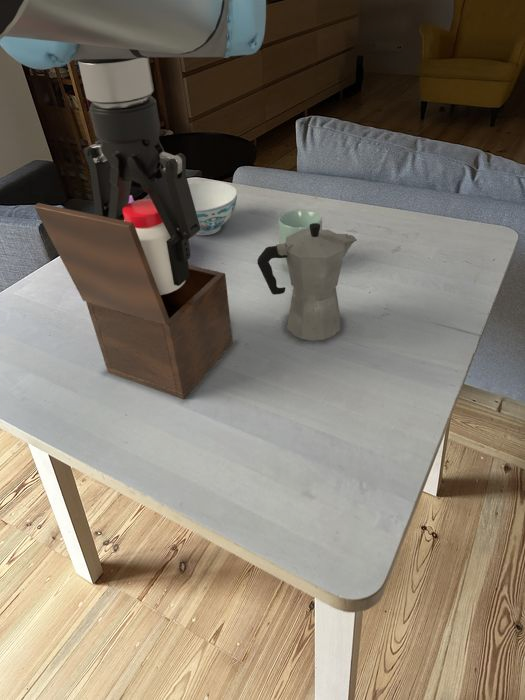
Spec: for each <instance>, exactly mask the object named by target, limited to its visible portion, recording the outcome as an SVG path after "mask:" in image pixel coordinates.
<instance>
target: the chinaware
mask: <svg viewBox="0 0 525 700" xmlns="http://www.w3.org/2000/svg"><path fill="white" fill-rule="evenodd" d="M188 184H189V188H190V191H191V195H192V199H193V202H194V206H195V210H196V214H197V217H198V221H199V225H200V231H199V232H197V233H196V234H195V235H197V236H209V235H214V234H216V233H218V232H219V231H220V230H221V229H222V226H223V225H224V224H225V223H227V221H228V220H229V219H230V218H231V216H232V215H233V213H234V210H235V208H236V205H237V199H238V190H237V189H236V188H235V187H234V186H233V185H232V184H230V183H226V182H222V181H215V180H204V181H203V180H201V181H195V182H190V183H189V182H188Z"/></svg>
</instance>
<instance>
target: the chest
mask: <svg viewBox="0 0 525 700" xmlns="http://www.w3.org/2000/svg"><path fill="white" fill-rule="evenodd" d="M188 267H189V273H190V277H188V278H187V279H186V281H185V283H184V284H183V285H182V286H181V287H180V288H179V289H177V290H175V291H173V292H171V293H168V294H164V295H161V298H162V301H163V304H164V306H165V309H166V312H167V314H168V317H169V320H170V322H169V323H168V324H167V325H164V324H161V323H157V322H154V321H151V320H147V319H144V318H140V317H137V316H134V315H130V314H127V313H123V312H120V311H117V310H113V309H110V308H106V307H103V306H99V305H96V304H93V303H89V302H86V301H85V303H86V307H87V309H88V314H89V316H90V320H91V322H92V323H91V324H92V326H93V329H94V332H95V336H96V338H97V342H98V345H99V348H100V351H101V354H102V359H103V361H104V364H105V367H106V370H107V373H108V374H111V375H113V376H116V377H119V378H122V379H126V380H128V381H131V382H133V383H136V384H140V385H143V386H145V387H148V388H151V389H154V390H156V391H158V392H159V391H160V392H162V393H165V394H168V395H170V396H173V397H177V398H179V399H182V400H185V399H186V398H187V397H188V395H190V393H191V392H192V391H193V390H194V389H195V388H196V386H198V384H199V383H200V382H201V381H202V379H203V378H204V377H205V376H206V375H207V374H208V373H209V371H210V370H211V369H212V368H213V367H214V366H215V365H216V364H217V363H218V361H219V360H220V359H221V358H222V357H223V356H224V354H225V353H226V352H227V351H228V350H229V349H230V347H231V346H232V345H233V344H234V342H233V341H234V340H233V334H232V333H233V331H232V323H231V315H230V305H229V304H230V303H229V295H228V286H227V277H226V273H225V272H221V271H219V270H218V271H217V270H213V269H209V268H204V267H200V266H197V265H192V264H188Z"/></svg>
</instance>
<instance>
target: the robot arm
mask: <svg viewBox="0 0 525 700" xmlns="http://www.w3.org/2000/svg"><path fill="white" fill-rule="evenodd" d="M266 21H267V0H0V47H1V48H2V49H3V51H5V53H6V54H8V55H9V56H10V57H11V58H12V59H13V60H14V61H16V62H17V63H19V64H21V65H23V66H25V67H28V68H29V69H34V70H42V71H43V70H49V69H54V68H63V67H65V66H66V65H67V64H69V63H71V62H72V61H77V64H78V67H79V72H80V76H81V81H82V85H83V90H84V94H85V98H86V99H87V100H88V101H89V102H91V103H90V104H89V105H90V106H89V107H88V110H89V114H90V118H91V122H92V126H93V129H94V134H95V137H96V139H98V140H100V141H101V142H100V141H97V142H96V143H93V144H90V145H89V146H87V147H85V148H84V149H83V155H84V158H85V160H86V162H87V165H88V168H89V175H90V182H91V189H92V198H93V205H94V211H95V215H98V216H103V217H108V218H113V219H118V220H122V221H124V220H125V219H124V215H123V208H124V207H125V206H126V205H127V204H128V203H129V196H130V194H131V188H132V182H135V183H137V184H139V185H140V187H141V189H142V191H143V192H144V193H147V194H148V196H149V199H151V200H152V202H153V204H154V206H155V208H156V210H157V212H158V213H159V215H160V217H161V219H162V221H163V223H164V225H165V227H166V229H167V231H168V233H169V235H170V237H171V238H170V239H169V240H167V241H166V242H167V248H168V253H169V259H170V264H171V270H172V275H173V281H174V285H177V286H179V285H180V284H182V283H183V282H184V281H185V280H186V279H187V278H188V277H190V273H189V267H188V265H189V261H188V260H189V259H190V258H191V255H192V254H191V249H190V241H189V240H190V239H191V238H193V237H194V236H196V235H197V234H196V233H197V232H199V231H200V225H199V221H198V217H197V214H196V210H195V206H194V202H193V199H192V195H191V191H190V188H189V181H188V178H187V170H186V169H187V158H186V156H185V155H184V154H183V153H181V152H180V153H177V154H176V155H174V154H171V153H169V152H166V151H165V149H164V147H163V145H162V143H161V141H160V131H161V122H160V116H159V110H158V105H157V100H156V98H154V96H152V94H153V93H154V91H155V88H154V82H153V75H152V70H151V64H150V58H222V59H227V58H230V57H237V56H238V57H239V56H250V55H253V54H255V53H257V52H258V51H259V50H260V49H261V47H262V44H263V42H264V38H265V33H266ZM153 179H154V180H153ZM177 228H178V229H177Z"/></svg>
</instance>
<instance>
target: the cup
mask: <svg viewBox="0 0 525 700" xmlns="http://www.w3.org/2000/svg"><path fill="white" fill-rule="evenodd" d="M277 223H278V224H277V226H278V227H277V229H278V244H283V243H285V242H286V237H287V236H290V235H292V234H295V233H297V232H299V231H302V230H304V229H310V224H312V223H318V224H320V230H323V217H322V216H321V214H320V213H318V212H316V211H314V210H310V209H305V208H302V209H301V208H299V209H292V210H288V211H286V212H284V213H282V214H281V215H280V216H279V217H278V222H277ZM281 261H282V263H283V266H284V267H286V268H287V269H288V265H287V259H286V258H281Z"/></svg>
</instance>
